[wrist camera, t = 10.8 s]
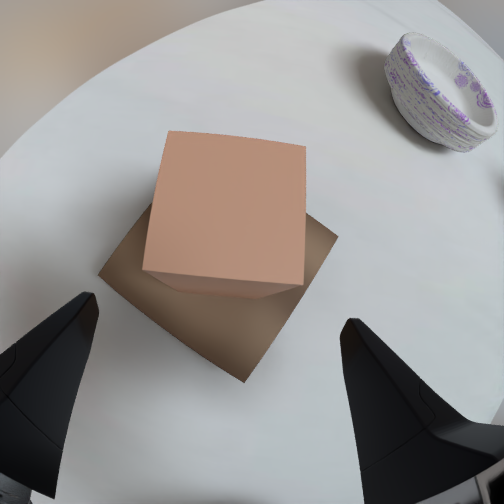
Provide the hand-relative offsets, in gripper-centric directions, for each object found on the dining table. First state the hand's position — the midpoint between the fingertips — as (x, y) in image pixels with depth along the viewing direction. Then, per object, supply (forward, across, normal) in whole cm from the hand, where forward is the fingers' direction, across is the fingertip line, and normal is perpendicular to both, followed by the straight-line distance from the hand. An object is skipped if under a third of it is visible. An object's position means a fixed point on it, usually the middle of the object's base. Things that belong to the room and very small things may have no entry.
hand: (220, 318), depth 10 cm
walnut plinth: (+11, 0, +6) cm, 13 cm away
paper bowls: (+27, -22, -10) cm, 36 cm away
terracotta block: (+9, 0, +4) cm, 10 cm away
